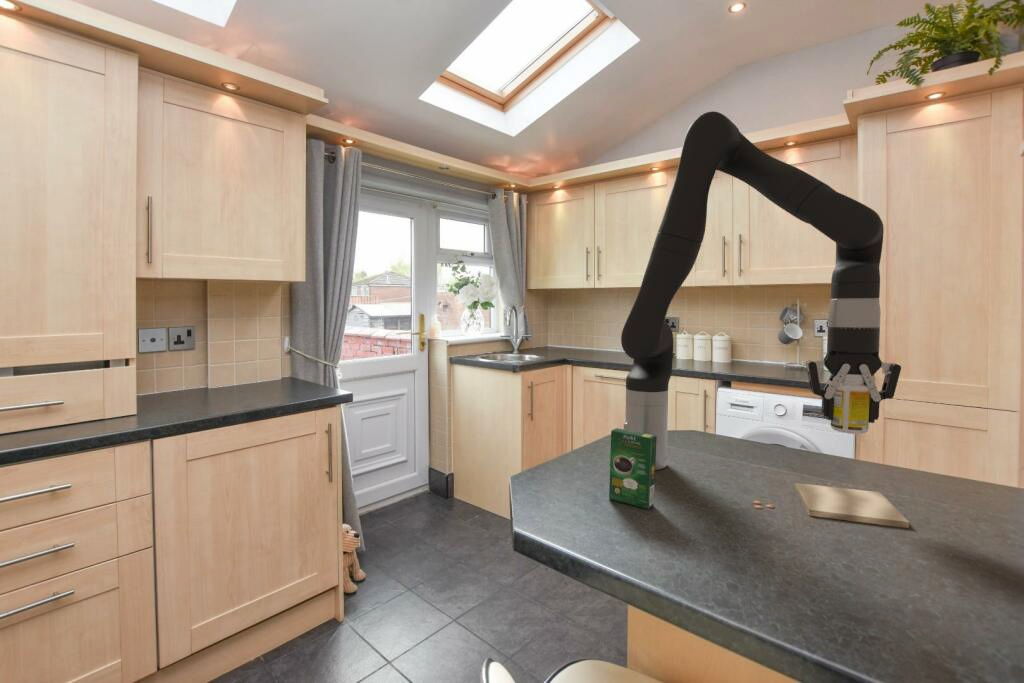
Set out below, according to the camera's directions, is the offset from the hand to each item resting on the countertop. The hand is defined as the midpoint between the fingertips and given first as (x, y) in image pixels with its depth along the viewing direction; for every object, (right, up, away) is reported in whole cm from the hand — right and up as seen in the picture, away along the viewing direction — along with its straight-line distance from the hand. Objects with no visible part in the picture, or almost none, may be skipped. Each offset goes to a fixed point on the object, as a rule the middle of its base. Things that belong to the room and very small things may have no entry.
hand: (849, 420), depth 88 cm
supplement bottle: (0, -2, 0) cm, 2 cm away
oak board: (0, -16, +1) cm, 16 cm away
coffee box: (-38, -16, +3) cm, 41 cm away
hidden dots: (-15, -16, +1) cm, 21 cm away
